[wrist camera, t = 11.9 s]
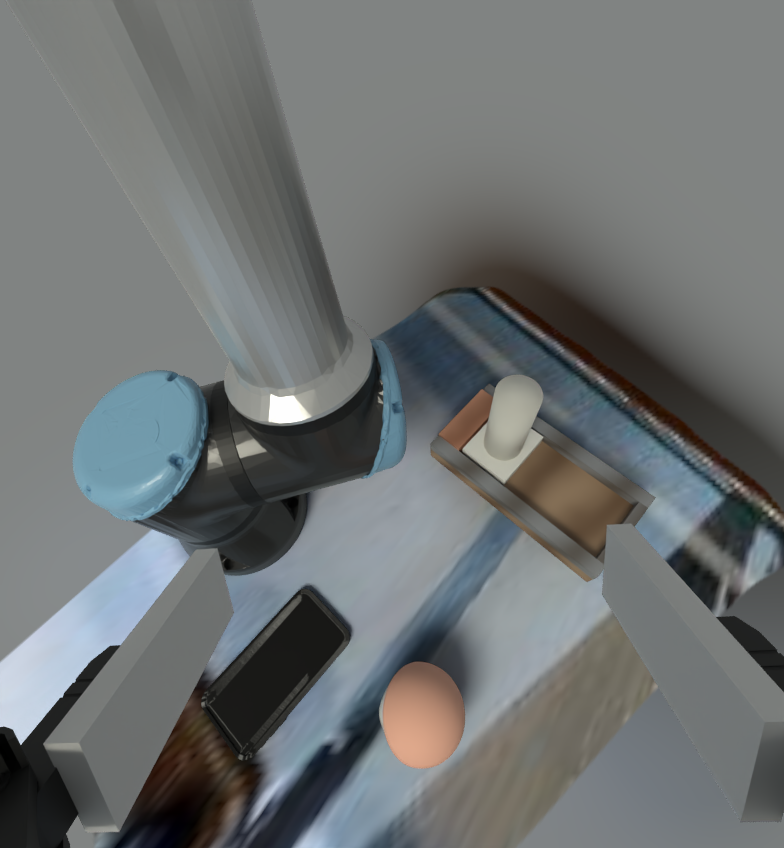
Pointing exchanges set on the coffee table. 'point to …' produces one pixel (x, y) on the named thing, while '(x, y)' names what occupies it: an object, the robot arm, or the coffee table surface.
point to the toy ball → (422, 715)
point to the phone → (274, 673)
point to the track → (548, 489)
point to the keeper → (508, 428)
